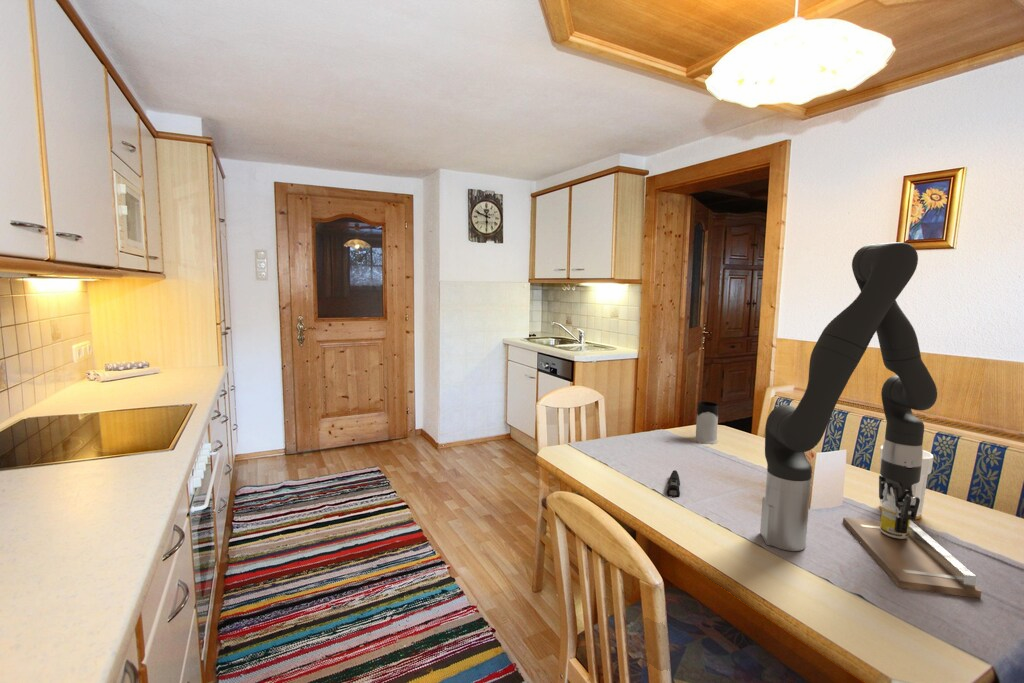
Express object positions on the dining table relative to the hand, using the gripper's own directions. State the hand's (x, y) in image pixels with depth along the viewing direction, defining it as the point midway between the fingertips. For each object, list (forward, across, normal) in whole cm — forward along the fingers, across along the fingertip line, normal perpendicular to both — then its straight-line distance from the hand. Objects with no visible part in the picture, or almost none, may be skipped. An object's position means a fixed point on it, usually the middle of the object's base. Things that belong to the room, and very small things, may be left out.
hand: (894, 525), depth 118 cm
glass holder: (+4, -72, -34) cm, 80 cm away
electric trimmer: (+5, -19, -50) cm, 54 cm away
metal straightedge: (+2, +7, +5) cm, 8 cm away
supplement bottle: (+2, 0, 0) cm, 2 cm away
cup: (+4, -18, +10) cm, 21 cm away
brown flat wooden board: (+4, +7, -1) cm, 8 cm away
